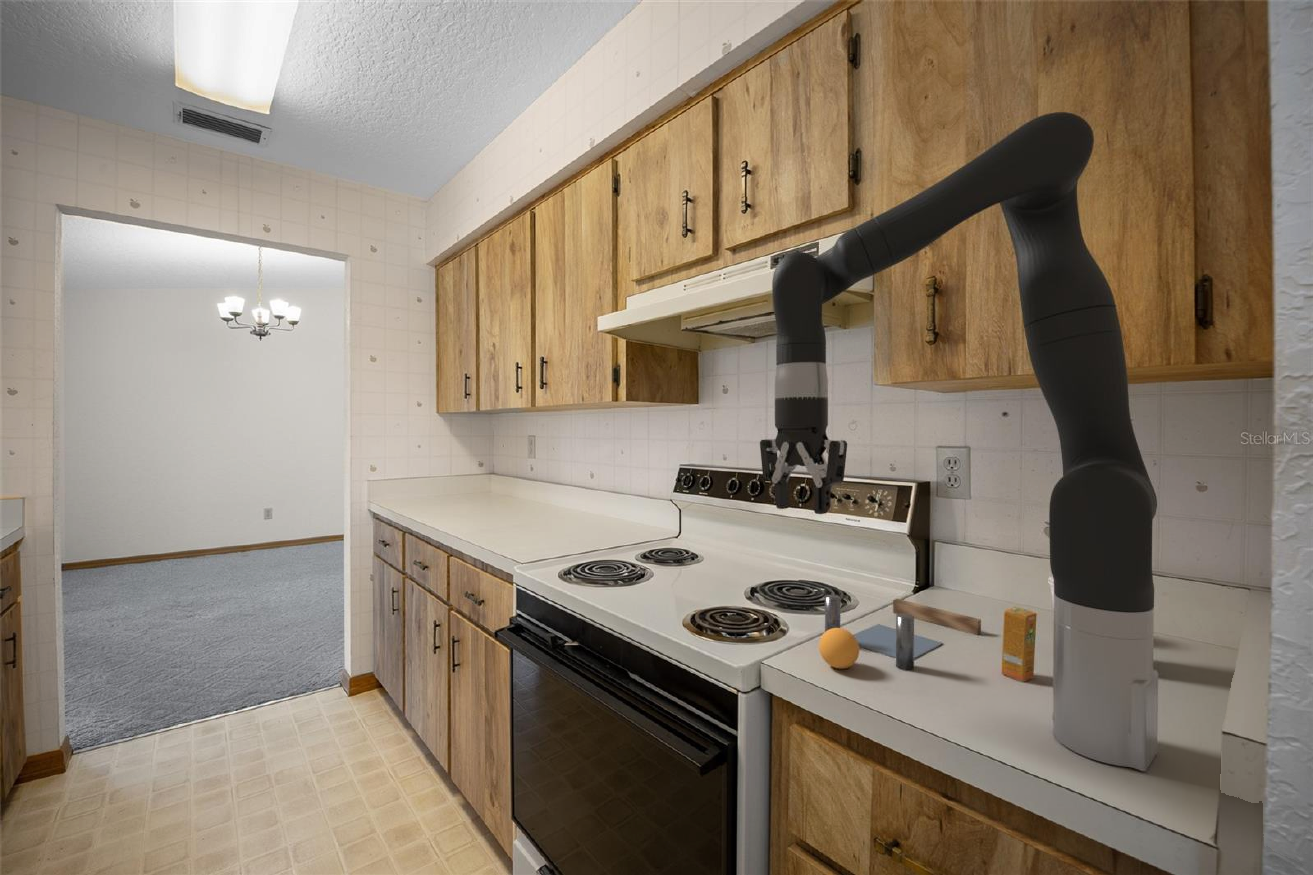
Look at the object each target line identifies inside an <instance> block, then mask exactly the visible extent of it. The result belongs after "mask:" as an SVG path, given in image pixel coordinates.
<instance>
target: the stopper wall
mask: <svg viewBox="0 0 1313 875" xmlns="http://www.w3.org/2000/svg"><path fill="white" fill-rule="evenodd" d="M892 613H893V614H894V613H895V614H896V615H897V614H909V615H912V616H914V619H916V620H920V621H924V622H928V623H931V624H934V623H936V624H935V625H939V626H942V627H945V628H949V627H950V629H954V630H958V631H961V632H966V633H969V634H971V635H972V634H973V635H977V636H979V635H981V634H982V619H980V618H976V617H972V616H969V615H964V614H960V613H956V612H952V611H949V610H943V609H939V608H936V607H933V606H928V605H924V604H919V603H915V602H911V601H907V600H904V599H900V598H896V599H893V600H892Z"/></svg>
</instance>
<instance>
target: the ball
mask: <svg viewBox="0 0 1313 875" xmlns="http://www.w3.org/2000/svg"><path fill="white" fill-rule="evenodd" d="M818 650H819V653H820V656H821V657H822V659H823V660H824V661H825V663H827V665H828V666H831V667H833V668H836V669H839V670H840V669H841V670H842V669H847V668H850V667H851V666H853V665H854V664H855V663H856V662H857V660H858V659H859V654H860V646H859V645H858V642H857V640H856V638H855V637H854V636H853V633H852V632H850V631H848V630H847V629H845V628H841V627H840V628H832V629H829V630H827V631H826V632H825V631H824V632H823V634H822V635H821V637H820V640H819V643H818Z"/></svg>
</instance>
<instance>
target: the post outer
mask: <svg viewBox="0 0 1313 875" xmlns="http://www.w3.org/2000/svg"><path fill="white" fill-rule="evenodd" d="M832 628H841V596H840V595H837V594H826V595H824V633H825V632H826V631H827V630H829V629H832Z"/></svg>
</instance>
